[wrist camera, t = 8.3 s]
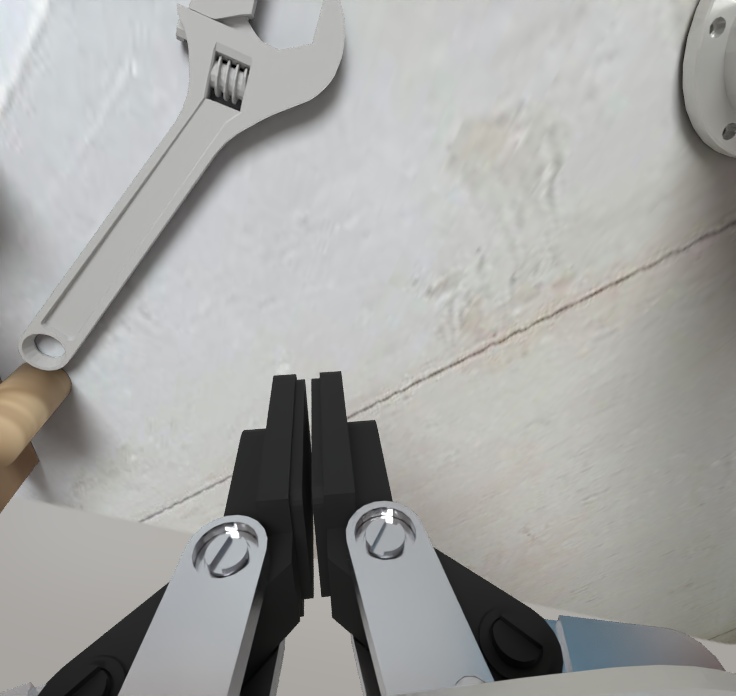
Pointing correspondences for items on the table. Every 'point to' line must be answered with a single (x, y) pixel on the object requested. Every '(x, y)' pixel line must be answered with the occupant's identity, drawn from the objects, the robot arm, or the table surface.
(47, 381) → the tool rack
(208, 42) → the adjustable wrench
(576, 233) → the table surface
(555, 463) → the table surface
